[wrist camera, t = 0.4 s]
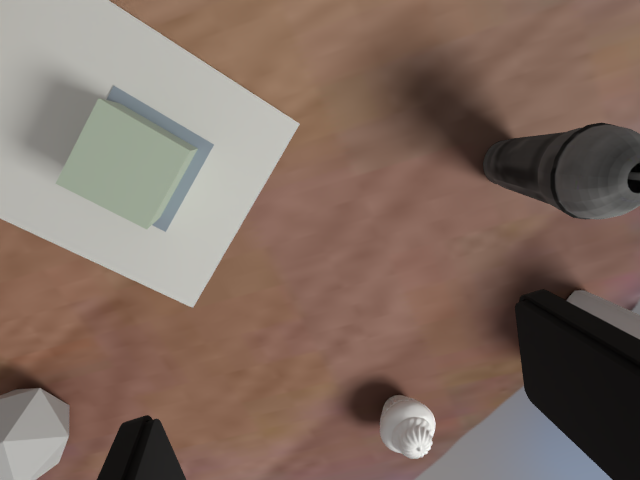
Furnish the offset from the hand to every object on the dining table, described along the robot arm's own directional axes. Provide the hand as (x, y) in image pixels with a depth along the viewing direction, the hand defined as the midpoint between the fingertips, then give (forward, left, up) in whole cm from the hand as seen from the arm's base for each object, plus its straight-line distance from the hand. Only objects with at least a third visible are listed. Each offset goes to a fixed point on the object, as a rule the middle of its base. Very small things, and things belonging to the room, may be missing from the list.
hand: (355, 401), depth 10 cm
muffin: (+14, +24, -31) cm, 41 cm away
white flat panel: (+3, -14, -30) cm, 33 cm away
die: (+30, -10, -31) cm, 44 cm away
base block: (+3, -12, -29) cm, 31 cm away
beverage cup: (-15, +18, -31) cm, 39 cm away
